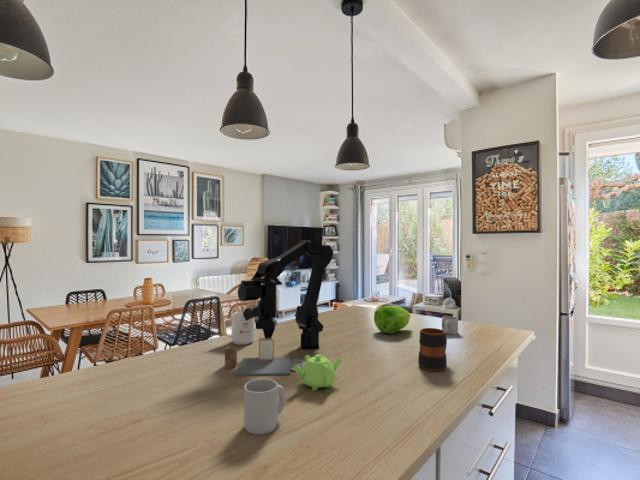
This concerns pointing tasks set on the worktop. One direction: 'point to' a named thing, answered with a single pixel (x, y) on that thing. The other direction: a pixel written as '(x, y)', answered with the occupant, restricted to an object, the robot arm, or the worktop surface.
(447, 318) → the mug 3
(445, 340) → the mug
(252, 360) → the mat
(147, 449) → the worktop surface
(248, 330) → the mug
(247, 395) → the cup
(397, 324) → the lettuce
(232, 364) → the walnut block
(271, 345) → the tile
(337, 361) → the teapot
